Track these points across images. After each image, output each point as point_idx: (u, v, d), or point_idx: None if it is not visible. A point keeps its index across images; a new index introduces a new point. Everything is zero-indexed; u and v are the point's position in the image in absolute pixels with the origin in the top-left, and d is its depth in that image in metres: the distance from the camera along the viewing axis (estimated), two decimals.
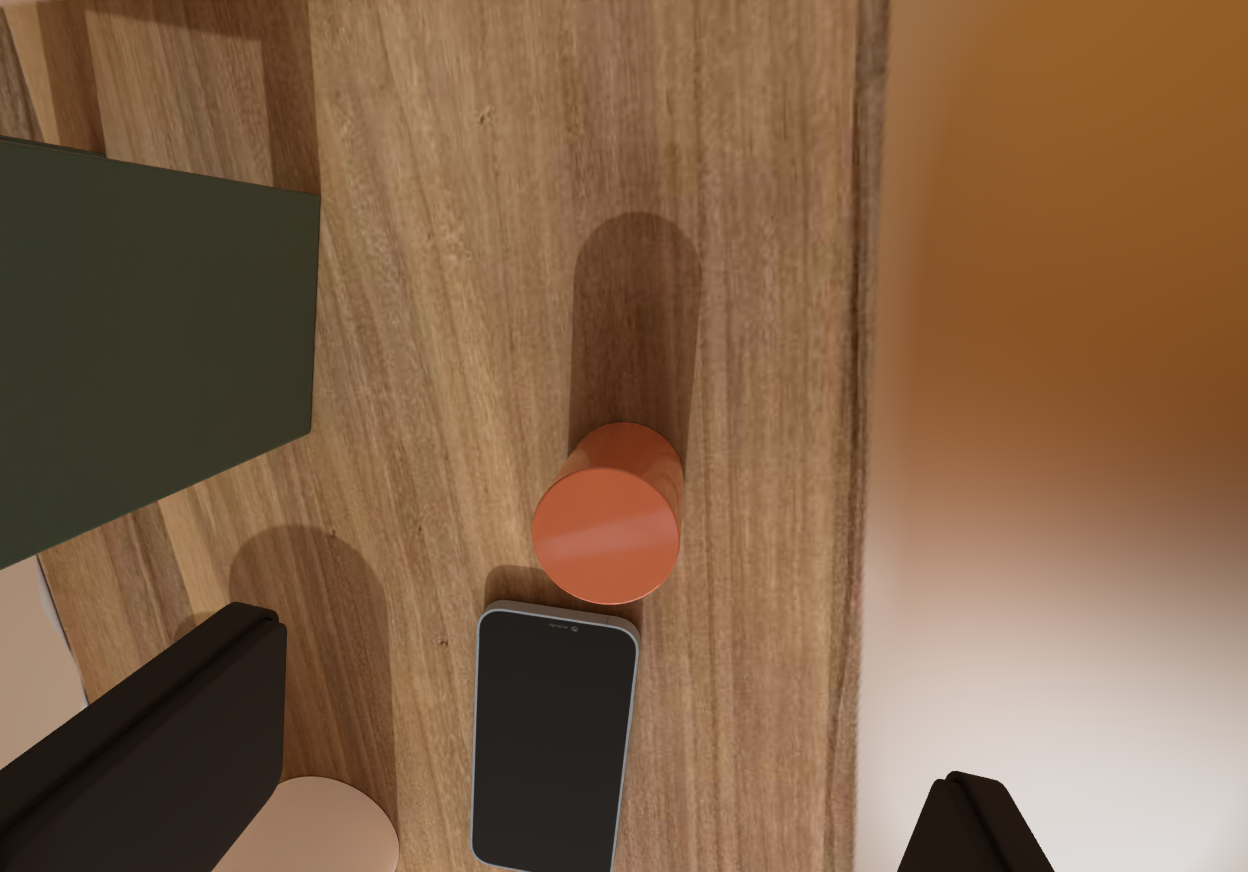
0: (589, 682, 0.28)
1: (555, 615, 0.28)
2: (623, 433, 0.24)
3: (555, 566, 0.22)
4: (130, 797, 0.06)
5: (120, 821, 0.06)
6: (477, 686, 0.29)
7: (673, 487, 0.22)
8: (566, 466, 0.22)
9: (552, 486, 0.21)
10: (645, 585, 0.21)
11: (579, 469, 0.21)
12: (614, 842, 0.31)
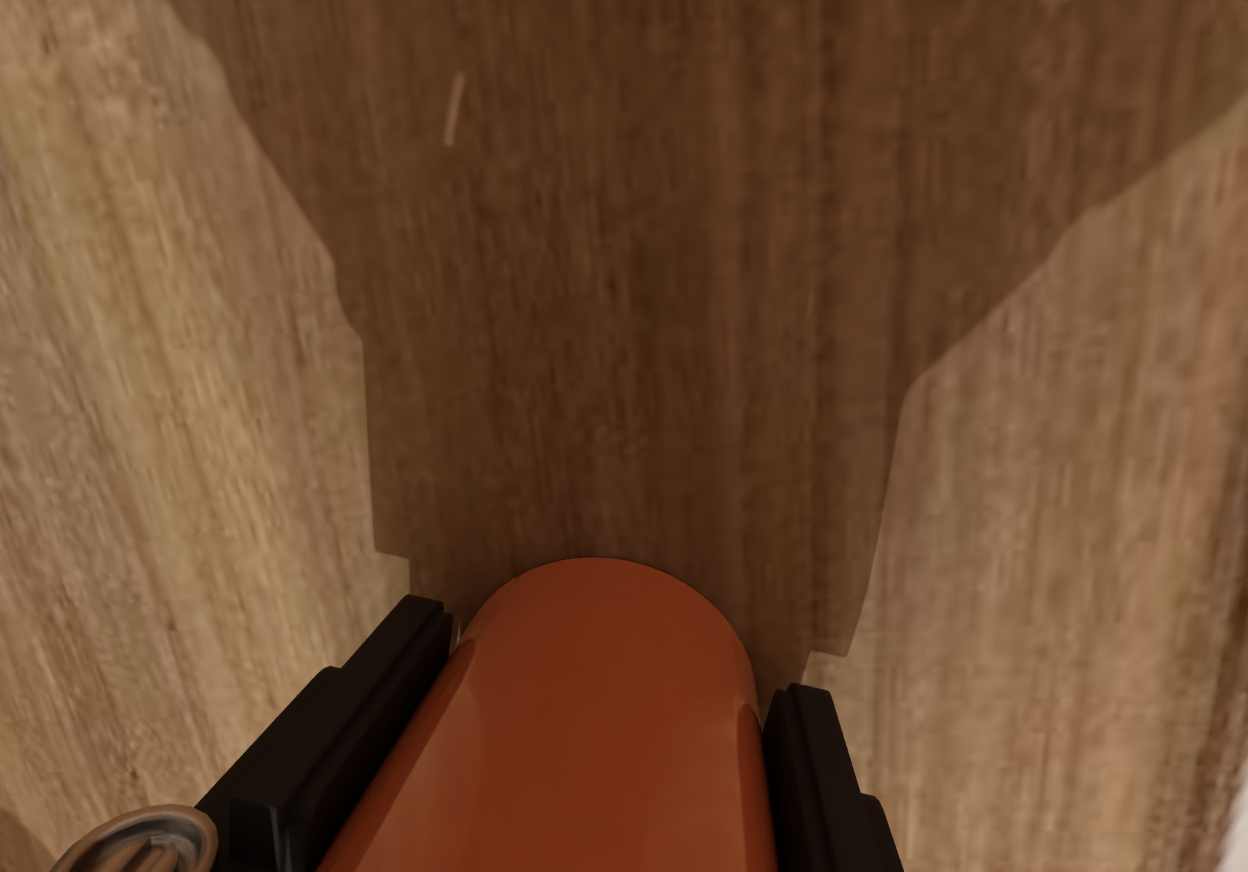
0: None
1: None
2: (592, 614, 0.08)
3: None
4: (368, 763, 0.07)
5: (361, 784, 0.07)
6: None
7: None
8: (375, 800, 0.06)
9: None
10: None
11: None
12: None
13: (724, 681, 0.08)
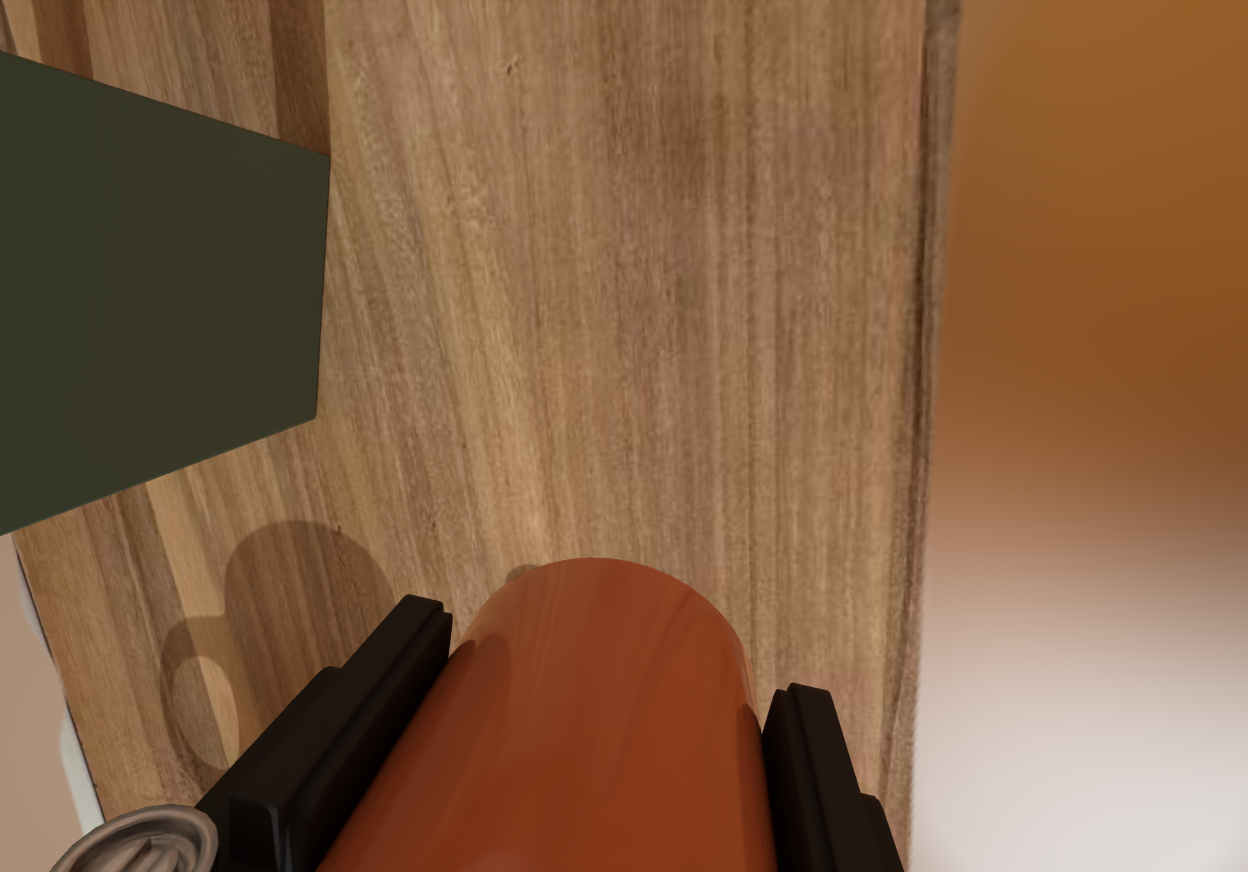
0: None
1: None
2: (592, 614, 0.08)
3: None
4: (368, 763, 0.07)
5: (361, 784, 0.07)
6: None
7: None
8: (376, 800, 0.06)
9: None
10: None
11: None
12: None
13: (724, 681, 0.08)
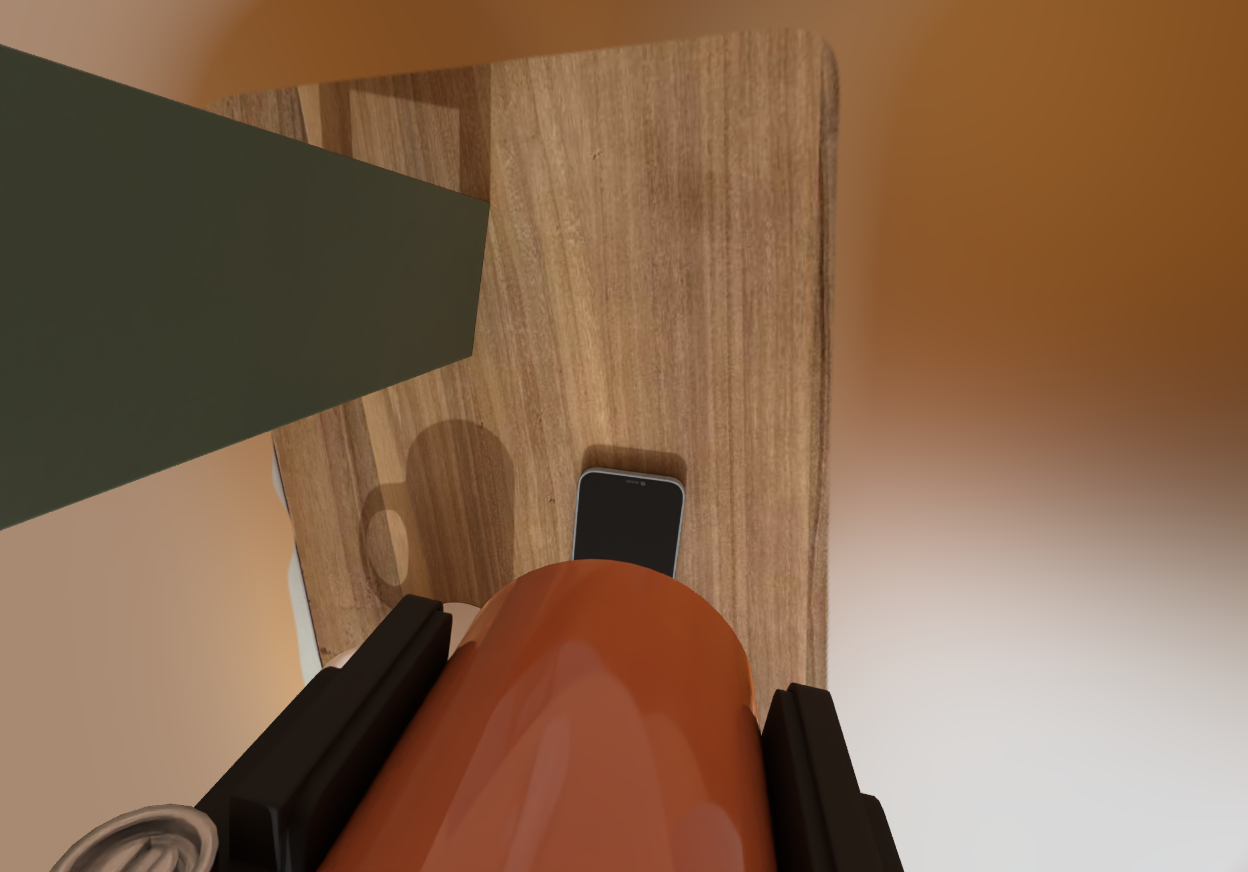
0: (651, 520, 0.43)
1: (630, 475, 0.43)
2: (591, 616, 0.08)
3: None
4: (368, 763, 0.07)
5: (362, 784, 0.07)
6: (576, 526, 0.44)
7: None
8: (376, 801, 0.06)
9: None
10: None
11: None
12: None
13: (723, 682, 0.08)
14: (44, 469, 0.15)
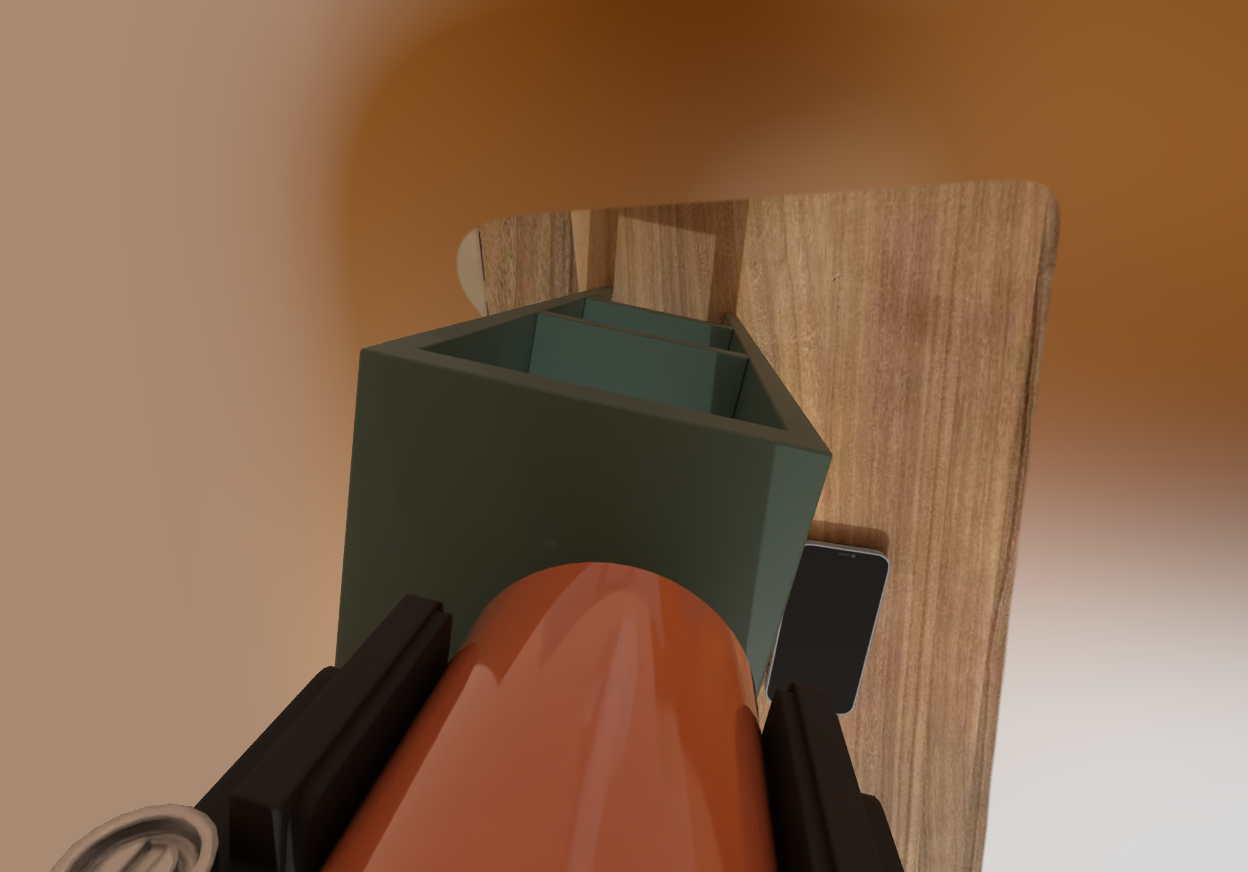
0: (857, 587, 0.50)
1: (841, 548, 0.49)
2: (593, 620, 0.08)
3: None
4: (368, 763, 0.07)
5: (361, 784, 0.07)
6: None
7: None
8: (376, 807, 0.06)
9: None
10: None
11: None
12: (858, 687, 0.52)
13: (724, 687, 0.08)
14: None
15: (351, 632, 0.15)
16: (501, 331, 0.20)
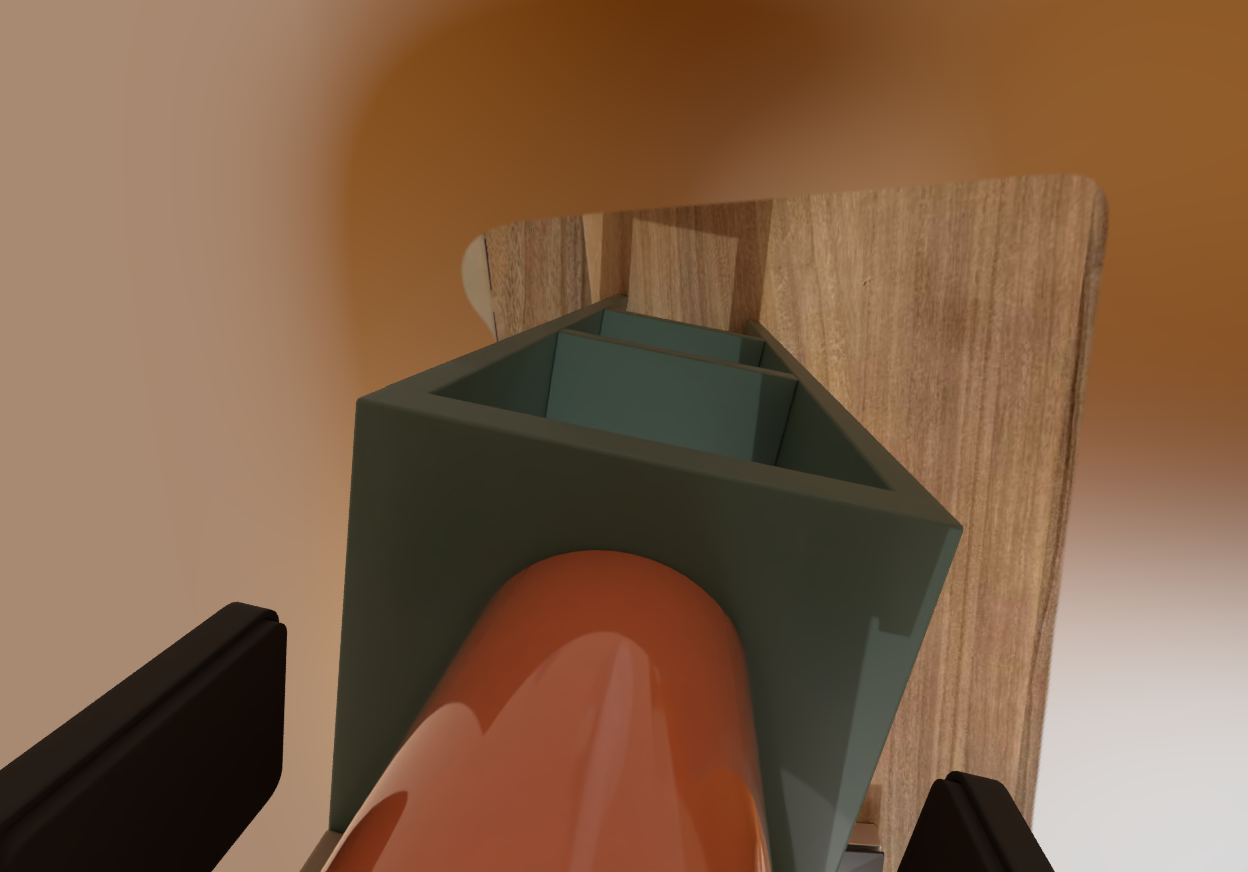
0: None
1: None
2: (597, 601, 0.09)
3: None
4: (130, 797, 0.06)
5: (120, 821, 0.06)
6: None
7: (753, 832, 0.07)
8: (403, 763, 0.07)
9: None
10: None
11: None
12: None
13: (718, 663, 0.09)
14: None
15: (351, 739, 0.12)
16: (521, 357, 0.18)
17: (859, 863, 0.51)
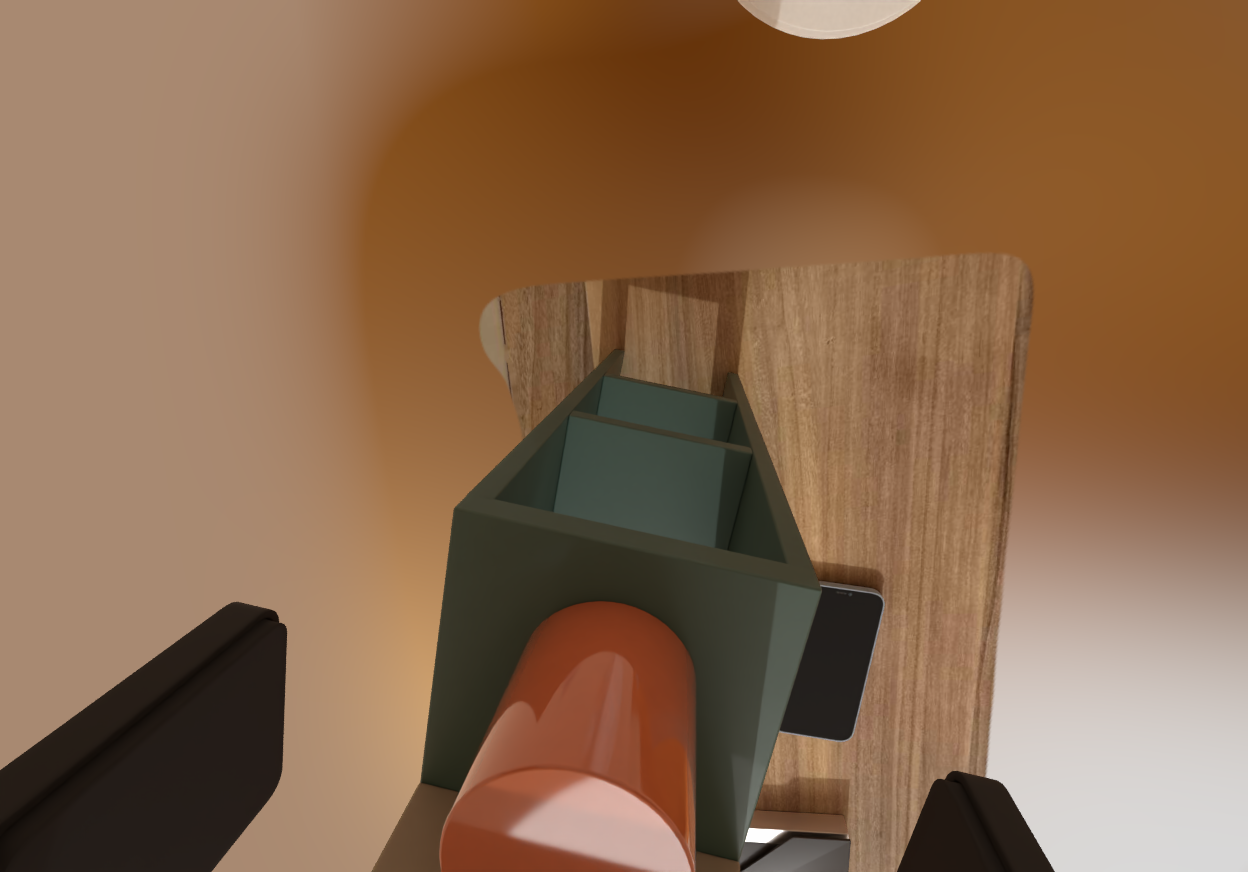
0: (854, 623, 0.53)
1: (839, 587, 0.53)
2: (601, 635, 0.15)
3: None
4: (130, 797, 0.06)
5: (120, 821, 0.06)
6: None
7: (683, 758, 0.13)
8: (504, 723, 0.13)
9: (471, 790, 0.12)
10: None
11: (518, 764, 0.12)
12: (857, 715, 0.55)
13: (672, 671, 0.15)
14: None
15: (439, 721, 0.19)
16: (544, 447, 0.24)
17: (829, 849, 0.57)
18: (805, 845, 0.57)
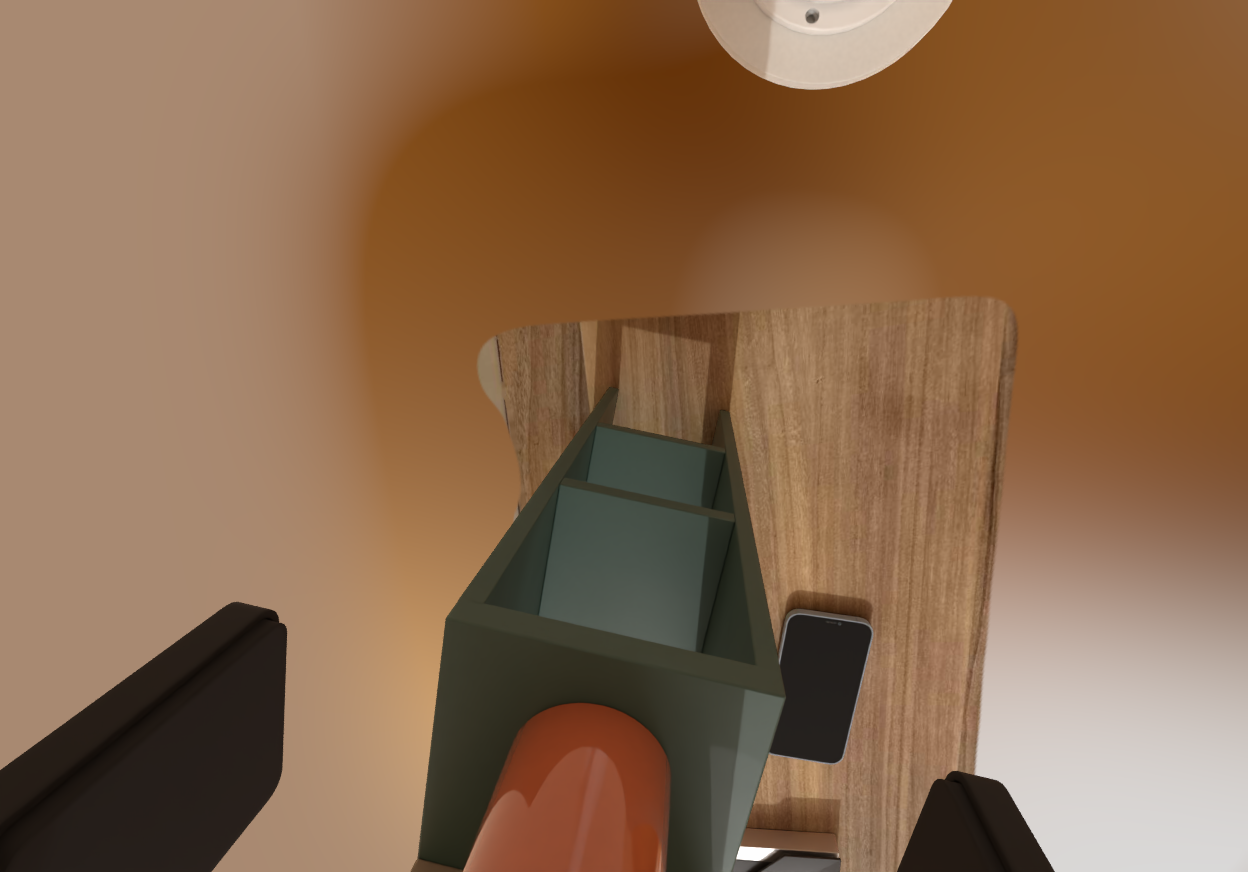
0: (844, 651, 0.55)
1: (828, 616, 0.54)
2: (581, 745, 0.17)
3: None
4: (130, 797, 0.06)
5: (120, 821, 0.06)
6: (781, 654, 0.55)
7: None
8: (489, 841, 0.15)
9: None
10: None
11: None
12: (847, 739, 0.57)
13: (646, 777, 0.17)
14: None
15: (434, 804, 0.20)
16: (534, 527, 0.25)
17: (819, 868, 0.59)
18: (796, 863, 0.59)
